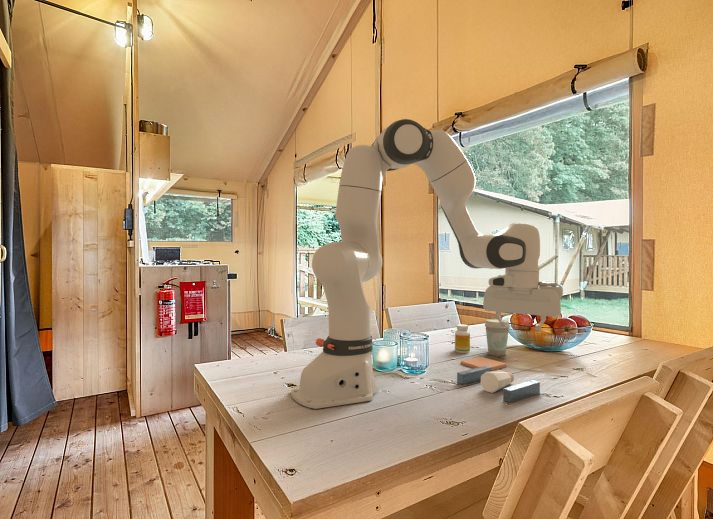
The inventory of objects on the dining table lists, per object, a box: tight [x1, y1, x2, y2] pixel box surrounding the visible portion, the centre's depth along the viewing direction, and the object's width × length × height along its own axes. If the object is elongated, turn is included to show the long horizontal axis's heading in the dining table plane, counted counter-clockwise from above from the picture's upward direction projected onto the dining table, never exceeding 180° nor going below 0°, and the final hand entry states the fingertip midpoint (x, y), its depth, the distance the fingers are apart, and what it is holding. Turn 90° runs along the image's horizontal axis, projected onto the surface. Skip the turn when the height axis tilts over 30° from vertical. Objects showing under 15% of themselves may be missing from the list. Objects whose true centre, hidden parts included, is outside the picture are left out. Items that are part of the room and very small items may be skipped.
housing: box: [456, 366, 541, 404], centre depth 103 cm, size 12×17×3 cm
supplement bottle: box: [454, 323, 471, 354], centre depth 142 cm, size 5×5×10 cm
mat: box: [459, 356, 507, 372], centre depth 124 cm, size 10×10×1 cm
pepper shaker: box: [480, 371, 515, 394], centre depth 104 cm, size 5×5×11 cm
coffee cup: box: [484, 318, 511, 357], centre depth 139 cm, size 8×8×12 cm
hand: (519, 329), depth 110 cm, fingers open, 8 cm apart
